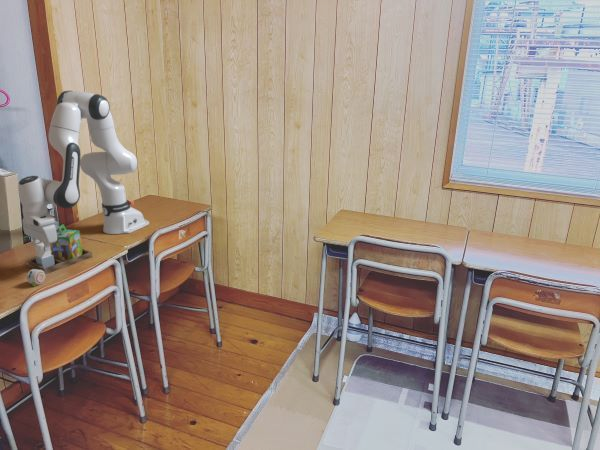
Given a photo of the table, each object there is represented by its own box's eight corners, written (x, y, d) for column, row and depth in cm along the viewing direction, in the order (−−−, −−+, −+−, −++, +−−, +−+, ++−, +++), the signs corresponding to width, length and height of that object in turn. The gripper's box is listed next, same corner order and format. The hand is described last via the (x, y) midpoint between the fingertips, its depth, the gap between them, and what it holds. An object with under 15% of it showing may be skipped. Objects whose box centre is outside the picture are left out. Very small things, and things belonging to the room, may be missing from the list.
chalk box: (73, 262, 209) (67, 230, 204) (52, 262, 210) (46, 229, 205) (84, 253, 218) (79, 222, 213) (64, 253, 219) (58, 221, 213)
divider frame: (75, 249, 223) (74, 245, 222) (92, 257, 215) (91, 252, 215) (28, 265, 207) (27, 261, 206) (45, 274, 200) (44, 269, 199)
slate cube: (37, 267, 206) (35, 256, 204) (49, 263, 210) (47, 252, 208) (43, 270, 203) (41, 259, 202) (55, 266, 207) (53, 255, 205)
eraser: (36, 256, 204) (34, 244, 203) (46, 253, 207) (44, 242, 206) (41, 258, 202) (39, 247, 200) (51, 255, 205) (49, 244, 203)
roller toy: (26, 286, 190) (23, 272, 188) (38, 279, 196) (35, 265, 194) (36, 287, 189) (33, 274, 187) (47, 280, 195) (45, 267, 193)
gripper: (15, 214, 202) (22, 245, 207) (41, 224, 191) (48, 257, 196) (31, 210, 207) (37, 240, 212) (57, 219, 196) (63, 251, 200)
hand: (42, 248), depth 204 cm, fingers open, 5 cm apart
